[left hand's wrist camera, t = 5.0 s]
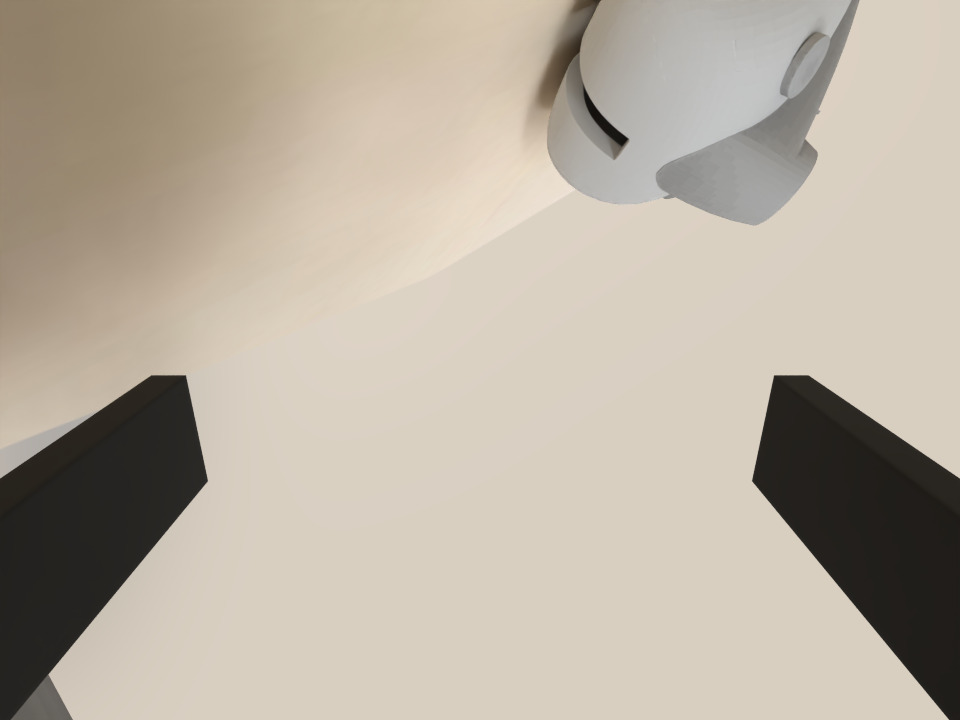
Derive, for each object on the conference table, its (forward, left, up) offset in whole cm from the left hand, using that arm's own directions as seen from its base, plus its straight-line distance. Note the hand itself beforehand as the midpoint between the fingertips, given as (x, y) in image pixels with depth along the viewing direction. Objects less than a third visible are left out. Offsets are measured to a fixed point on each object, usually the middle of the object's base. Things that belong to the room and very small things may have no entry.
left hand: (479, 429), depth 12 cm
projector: (+19, -25, -16) cm, 34 cm away
